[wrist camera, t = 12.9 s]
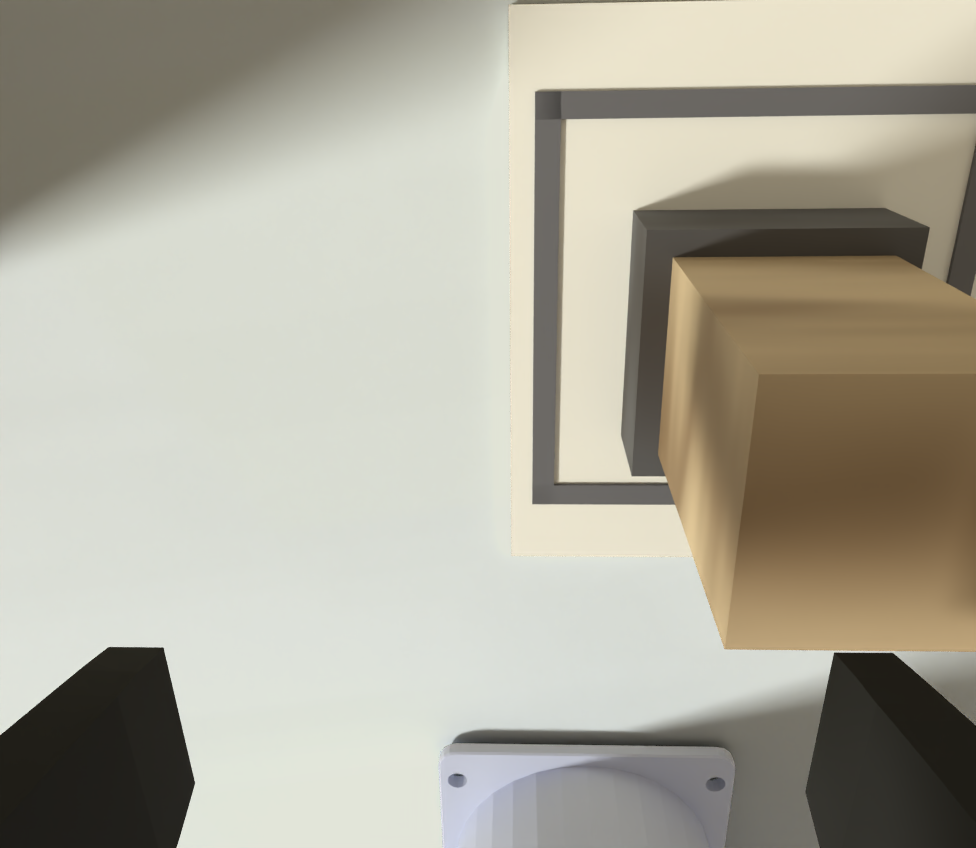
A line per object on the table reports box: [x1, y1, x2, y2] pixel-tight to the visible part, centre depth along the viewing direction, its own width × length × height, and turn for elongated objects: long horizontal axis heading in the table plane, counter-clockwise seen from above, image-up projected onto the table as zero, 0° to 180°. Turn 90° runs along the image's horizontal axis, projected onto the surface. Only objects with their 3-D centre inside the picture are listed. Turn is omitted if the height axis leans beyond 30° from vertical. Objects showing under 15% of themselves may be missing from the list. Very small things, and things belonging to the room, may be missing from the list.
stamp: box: [621, 208, 976, 652], centre depth 14 cm, size 5×5×8 cm
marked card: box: [509, 0, 976, 557], centre depth 18 cm, size 12×10×1 cm
